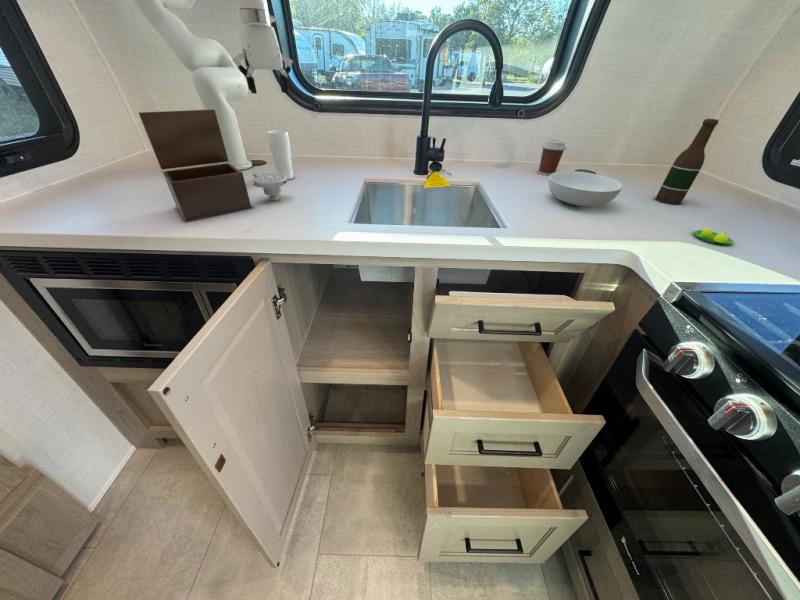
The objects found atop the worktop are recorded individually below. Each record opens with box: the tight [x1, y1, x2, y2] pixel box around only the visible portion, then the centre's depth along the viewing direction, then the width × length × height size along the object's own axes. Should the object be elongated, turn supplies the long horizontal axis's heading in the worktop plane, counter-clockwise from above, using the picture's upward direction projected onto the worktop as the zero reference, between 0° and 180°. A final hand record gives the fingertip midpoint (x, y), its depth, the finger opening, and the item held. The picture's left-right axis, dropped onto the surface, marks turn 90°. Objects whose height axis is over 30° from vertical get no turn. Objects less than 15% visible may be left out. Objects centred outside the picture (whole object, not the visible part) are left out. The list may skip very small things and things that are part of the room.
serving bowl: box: [548, 170, 623, 207], centre depth 100 cm, size 21×21×7 cm
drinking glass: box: [266, 129, 294, 181], centre depth 109 cm, size 7×7×15 cm
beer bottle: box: [655, 118, 719, 205], centre depth 99 cm, size 8×8×24 cm
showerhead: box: [252, 172, 288, 202], centre depth 94 cm, size 9×7×10 cm
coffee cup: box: [537, 138, 568, 176], centre depth 126 cm, size 9×9×12 cm
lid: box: [138, 109, 229, 171], centre depth 84 cm, size 13×17×5 cm
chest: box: [162, 163, 253, 222], centre depth 86 cm, size 12×17×10 cm
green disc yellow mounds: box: [693, 226, 734, 245], centre depth 81 cm, size 8×8×3 cm
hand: (269, 92), depth 98 cm, fingers open, 9 cm apart
